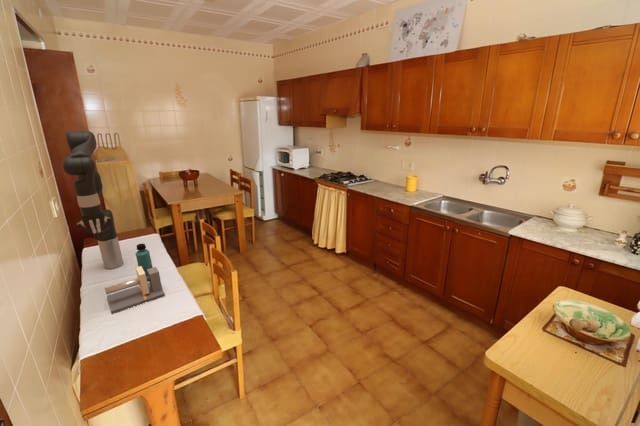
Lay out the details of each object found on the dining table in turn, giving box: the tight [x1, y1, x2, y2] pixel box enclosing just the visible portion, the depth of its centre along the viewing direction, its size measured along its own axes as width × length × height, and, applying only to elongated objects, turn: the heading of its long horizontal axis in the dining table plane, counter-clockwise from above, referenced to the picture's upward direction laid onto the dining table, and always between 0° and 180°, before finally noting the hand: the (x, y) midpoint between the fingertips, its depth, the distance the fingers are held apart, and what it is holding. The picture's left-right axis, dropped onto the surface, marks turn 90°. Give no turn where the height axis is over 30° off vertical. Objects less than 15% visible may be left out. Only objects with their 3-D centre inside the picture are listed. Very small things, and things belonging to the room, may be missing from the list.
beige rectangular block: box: [135, 266, 149, 295], centre depth 146 cm, size 9×2×11 cm, turn 40°
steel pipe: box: [104, 275, 150, 296], centre depth 143 cm, size 3×19×3 cm, turn 130°
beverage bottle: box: [135, 243, 154, 276], centre depth 159 cm, size 6×7×20 cm
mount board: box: [106, 266, 166, 315], centre depth 145 cm, size 15×22×12 cm
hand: (98, 239), depth 138 cm, fingers closed
